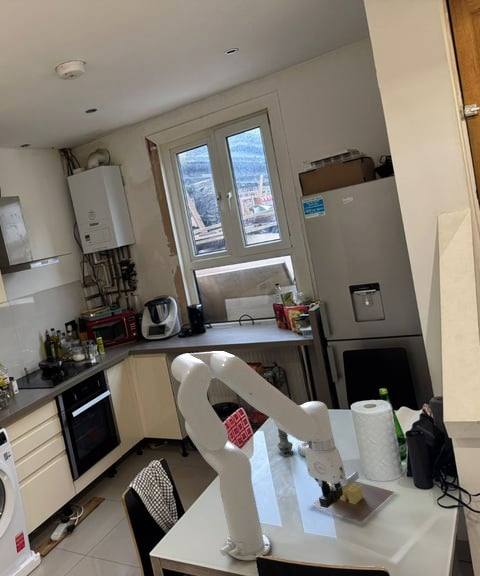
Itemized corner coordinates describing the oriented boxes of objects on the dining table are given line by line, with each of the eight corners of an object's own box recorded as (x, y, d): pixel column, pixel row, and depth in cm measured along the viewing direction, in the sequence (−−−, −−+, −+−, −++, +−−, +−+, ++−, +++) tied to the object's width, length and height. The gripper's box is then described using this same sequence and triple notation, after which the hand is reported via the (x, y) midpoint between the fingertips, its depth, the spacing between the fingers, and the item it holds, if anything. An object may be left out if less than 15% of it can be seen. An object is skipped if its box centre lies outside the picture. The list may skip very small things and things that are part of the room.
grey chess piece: (295, 455, 198) (289, 426, 197) (280, 457, 199) (274, 428, 198) (292, 449, 204) (287, 420, 203) (277, 451, 205) (272, 422, 204)
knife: (327, 508, 152) (325, 500, 152) (320, 505, 154) (318, 497, 154) (361, 478, 163) (360, 471, 163) (354, 477, 165) (353, 469, 165)
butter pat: (355, 504, 158) (352, 492, 157) (349, 502, 159) (346, 490, 159) (363, 497, 160) (361, 485, 160) (357, 495, 162) (355, 483, 162)
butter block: (345, 501, 160) (343, 489, 160) (327, 495, 165) (325, 484, 165) (353, 494, 163) (351, 482, 163) (336, 489, 168) (333, 477, 168)
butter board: (361, 526, 149) (361, 522, 149) (312, 509, 162) (311, 505, 162) (394, 495, 160) (394, 491, 160) (345, 481, 173) (345, 478, 173)
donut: (323, 459, 191) (327, 447, 199) (322, 451, 190) (325, 438, 199) (296, 458, 196) (300, 446, 205) (294, 450, 196) (299, 438, 204)
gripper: (290, 442, 158) (301, 497, 160) (339, 453, 145) (350, 513, 147) (304, 432, 162) (315, 486, 164) (352, 442, 149) (364, 501, 151)
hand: (332, 498), depth 155 cm, fingers closed on knife, 2 cm apart
